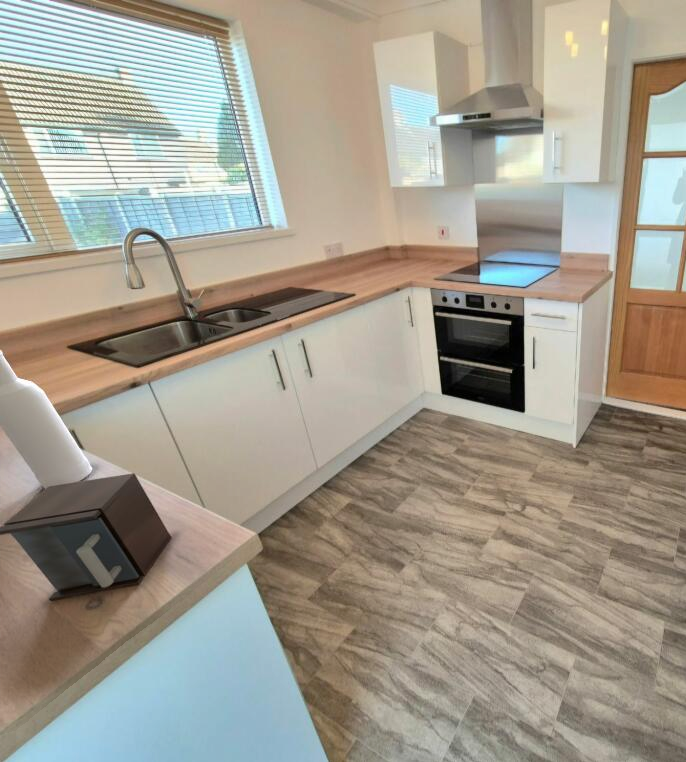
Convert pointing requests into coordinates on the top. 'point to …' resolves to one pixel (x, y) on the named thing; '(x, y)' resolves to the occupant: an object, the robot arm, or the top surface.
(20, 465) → the top surface
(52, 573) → the walnut cabinet
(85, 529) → the glass door
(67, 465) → the bottle
